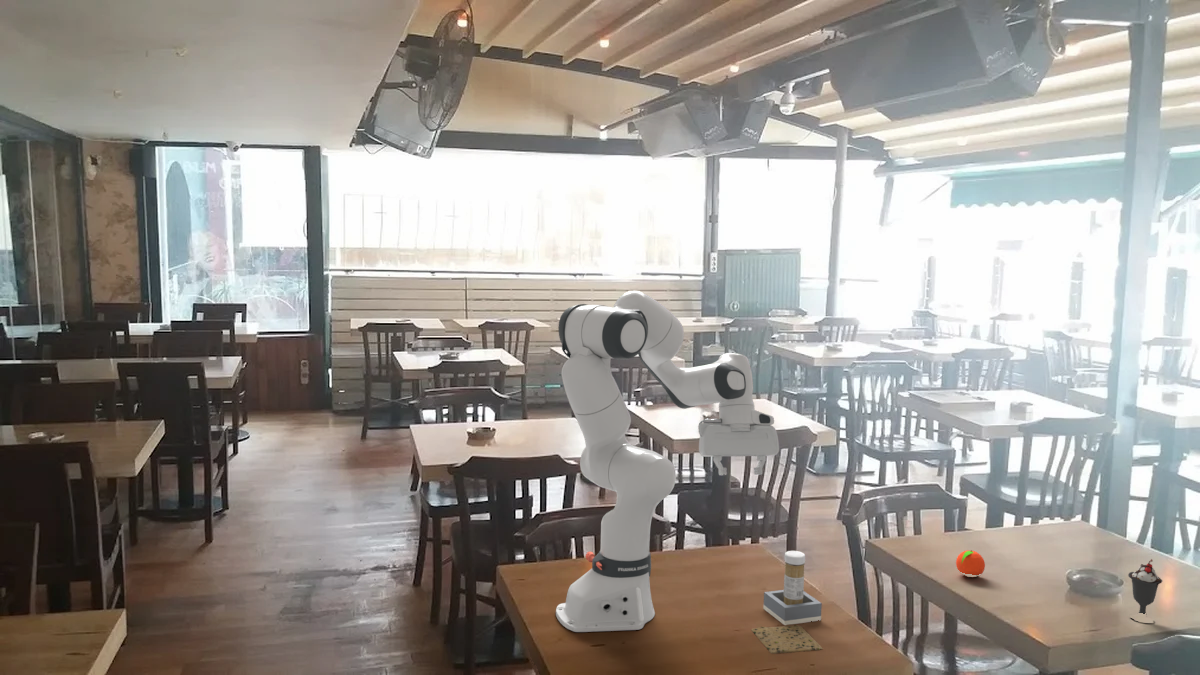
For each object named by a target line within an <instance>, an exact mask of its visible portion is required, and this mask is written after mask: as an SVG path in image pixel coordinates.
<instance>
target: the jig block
mask: <svg viewBox="0 0 1200 675" xmlns="http://www.w3.org/2000/svg"><path fill="white" fill-rule="evenodd" d="M822 607H823V603H822V602H821V601H819V600H818V599H817V598H815V597H814V596H812V595H810V594H809V593H807V592H806V591H803V603H801V604H793V605H786V604H785V603H784V589H779V590H771V591H770V590H769V591H763V608H762V609H763V610H764V611H766V612H767V613H768V614H770V615H771V616H772V617H774V618H775V619H776V620H777V621H779V622H780V623H781V624H782V625H784V626H791V625H797V624H803V623H804V624H805V623H811V621H812V622H817V621H818V620H819V621H821V620H822ZM819 621H818V622H819Z"/></svg>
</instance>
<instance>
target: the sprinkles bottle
mask: <svg viewBox="0 0 1200 675" xmlns="http://www.w3.org/2000/svg"><path fill="white" fill-rule="evenodd" d="M805 563H806V554H805V553H804V552H802V551H799V550H798V551H797V550H787V551H786V552H784V579H783V590H784V603H785V604H786V605H793V604H801V603H803V591H804V590H805V589H804V588H805V587H804V584H805V572H804V571H805Z"/></svg>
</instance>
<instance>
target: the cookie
mask: <svg viewBox="0 0 1200 675" xmlns="http://www.w3.org/2000/svg"><path fill="white" fill-rule="evenodd" d="M750 631H751V632H752V633H753V635H755V637H756V638H757V639H758V640H759V642H761V644H763V646H764V647H765V648H766V650H768V653H770V654H772V655H773V654H785V653H786V654H787V653H788V654H789V653H799V651H801V652H812V651H811V650H815V651H821V650H820V649H824V648H823V647H822V645H820V643H818V641H816V640H815V639H814V638H813V637H812V636H811V635H810V634H809V633H808V632H807V631H806V630H805V629H804V628H803V627H802V625H797V624H793V625H784V626H771V627H770V626H760V627H756V628H755V627H753V628H751V630H750Z"/></svg>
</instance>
